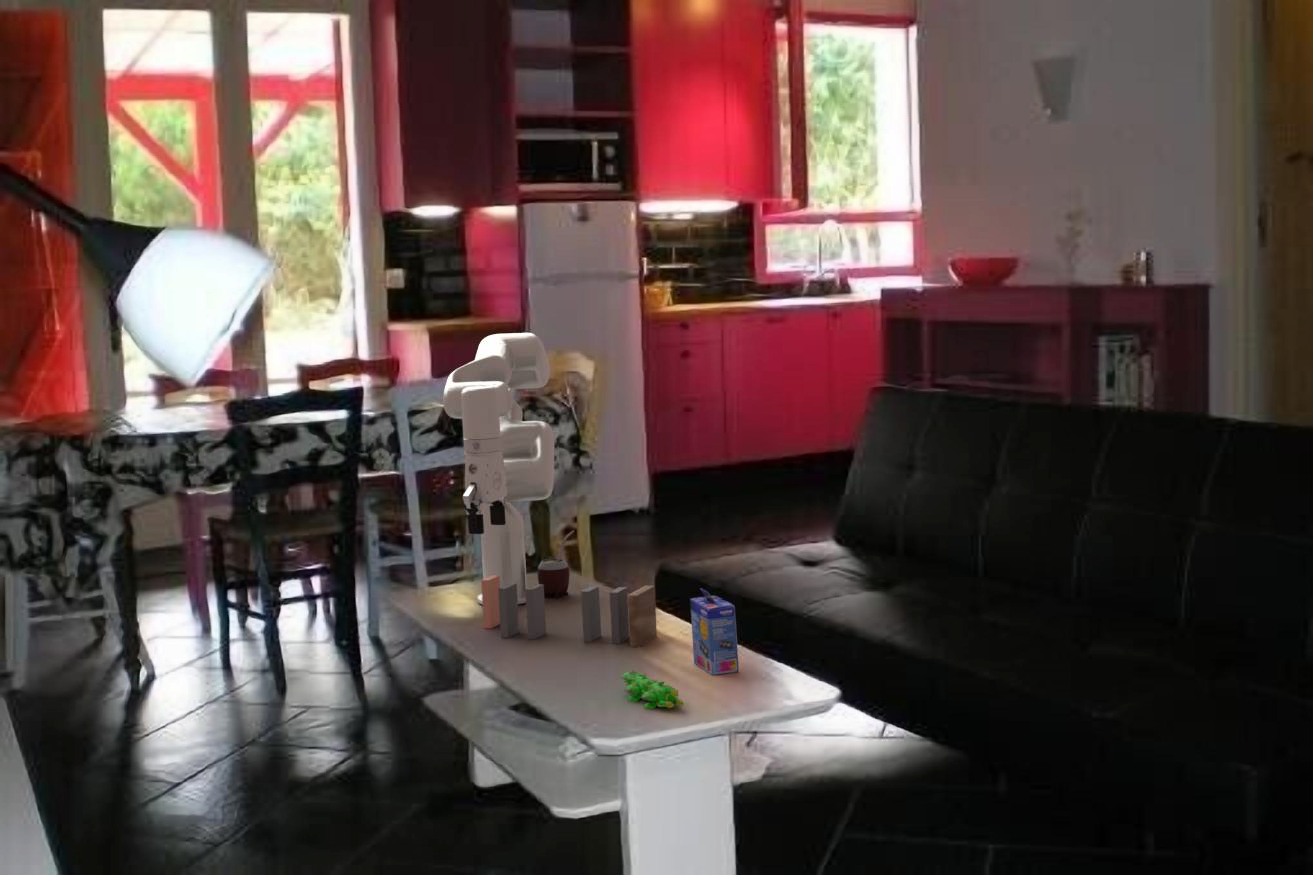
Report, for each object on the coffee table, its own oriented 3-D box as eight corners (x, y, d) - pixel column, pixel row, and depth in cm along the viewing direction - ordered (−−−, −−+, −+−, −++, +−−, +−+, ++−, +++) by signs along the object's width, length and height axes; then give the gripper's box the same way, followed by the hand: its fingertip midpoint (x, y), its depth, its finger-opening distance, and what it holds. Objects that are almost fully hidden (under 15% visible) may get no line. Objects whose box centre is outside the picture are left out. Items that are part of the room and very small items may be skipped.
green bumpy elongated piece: (643, 687, 273) (642, 663, 273) (696, 710, 258) (695, 684, 257) (609, 693, 270) (608, 669, 270) (661, 717, 255) (660, 691, 254)
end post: (630, 646, 302) (627, 595, 301) (647, 635, 310) (645, 585, 309) (640, 646, 301) (637, 595, 300) (656, 635, 310) (654, 585, 309)
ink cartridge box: (691, 663, 287) (688, 585, 286) (719, 659, 289) (716, 582, 288) (710, 676, 278) (707, 595, 277) (739, 672, 280) (736, 591, 278)
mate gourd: (535, 594, 354) (532, 528, 353) (569, 590, 357) (566, 525, 355) (543, 600, 347) (539, 533, 346) (578, 597, 350) (574, 530, 348)
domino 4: (583, 641, 308) (581, 591, 307) (593, 635, 312) (591, 585, 311) (591, 641, 307) (588, 591, 306) (601, 635, 312) (598, 586, 311)
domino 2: (500, 637, 314) (498, 588, 313) (512, 631, 319) (509, 583, 318) (508, 637, 314) (505, 588, 313) (519, 632, 318) (516, 583, 317)
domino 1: (484, 628, 323) (481, 580, 322) (495, 622, 328) (492, 575, 327) (491, 628, 323) (488, 580, 322) (502, 622, 327) (499, 575, 326)
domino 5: (612, 642, 306) (609, 592, 305) (621, 636, 310) (619, 586, 309) (619, 643, 305) (617, 592, 304) (629, 637, 310) (627, 587, 309)
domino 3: (528, 638, 312) (525, 589, 311) (538, 632, 317) (536, 584, 316) (535, 639, 312) (532, 589, 310) (546, 633, 316) (543, 584, 315)
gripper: (479, 452, 312) (484, 537, 314) (517, 440, 328) (522, 521, 330) (445, 452, 314) (451, 536, 316) (485, 440, 330) (490, 521, 332)
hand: (487, 529), depth 323 cm, fingers open, 9 cm apart
